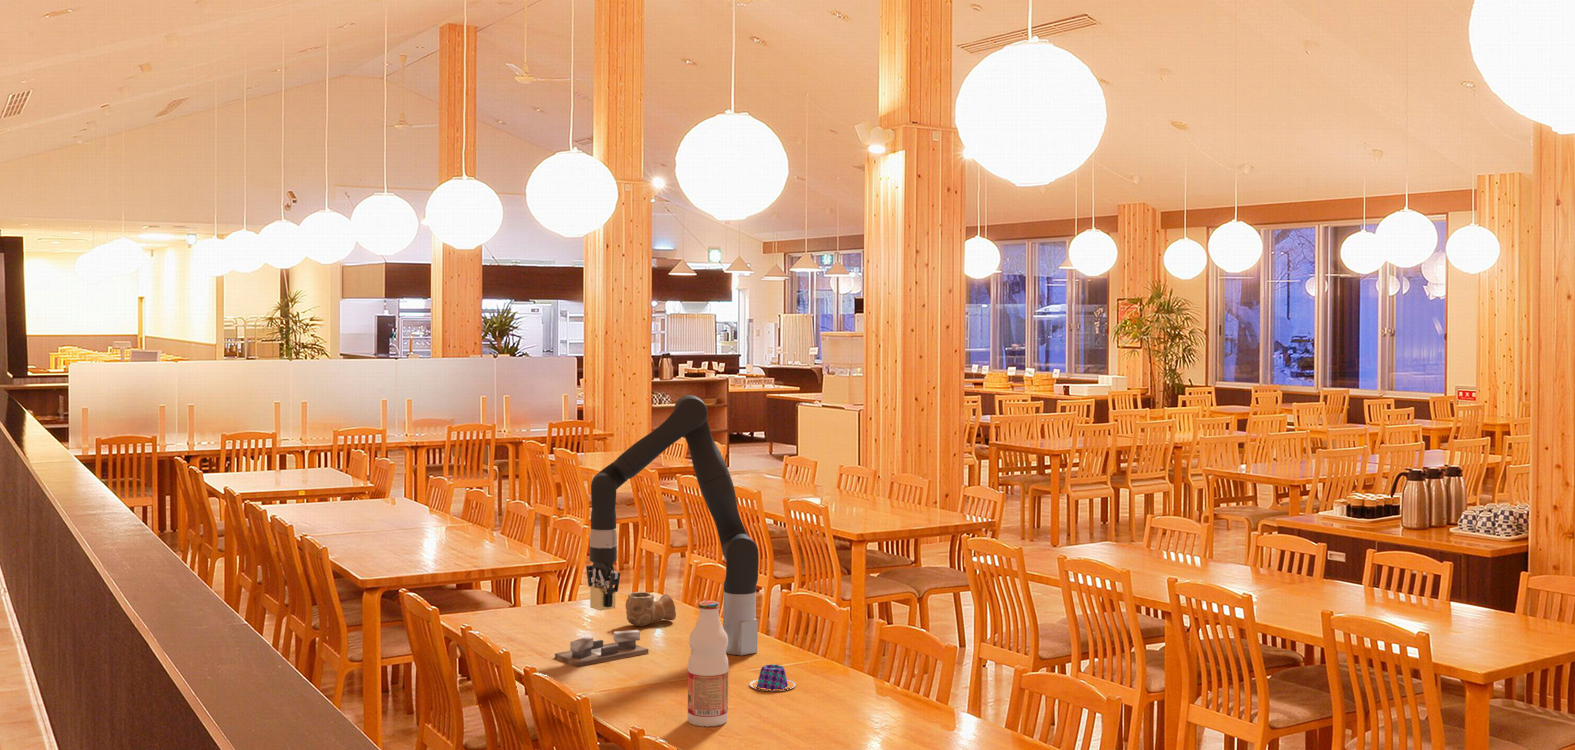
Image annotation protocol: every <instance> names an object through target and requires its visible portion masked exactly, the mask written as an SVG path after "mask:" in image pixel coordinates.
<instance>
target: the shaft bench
mask: <svg viewBox="0 0 1575 750" xmlns="http://www.w3.org/2000/svg"><path fill="white" fill-rule="evenodd" d="M613 641H614V642H610V643H604V640H602V639H599V640H594V637H590V636H584V637H581V638H577V639H575V640H572V641H570V643H569V645H570V646H569V649H570V650H567V651H561V652H557V653H554V658H555V659H557V660H559V661H562V662H565V663H568V664H570V665H572V666H575V667H577V668H579V667H585V666H590V665H596V664H601V663H605V662H606V663H607V662H610V661H616V660H621V659H622V660H623V659H625V658H630V657H631V658H632V657H637V656H641V655H646V654H647V655H648V654H649V648H647V647H645V646H640V645H637V644H636V643H637V642H636V641H641V631H640V630H639V629H634V630H633V629H632V630H619V631H613Z"/></svg>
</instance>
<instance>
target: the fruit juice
mask: <svg viewBox="0 0 1575 750" xmlns="http://www.w3.org/2000/svg"><path fill="white" fill-rule="evenodd" d="M720 606H721V605H720V602H719V601H716V600H703V601H699V602H698V611H699V614H698V618H697V621H696V624H695V627H694V628H693V630H691V632H690V634H689V638H688V639H689V641H688V644H689V648H690V655H689V658H688V662H687V663H688V665H687V720H688V722H689V724H691V725H693V726H697V727H704V726H705V727H706V728H707V727H709V728H710V726H711V727H717V726H721V725H725V723H727V721H728V717H729V716H728V715H729V713H728V712H729V658H728V656H727V653H726V649H727V646H728V636H727V633H726V632H725V630H724V629H723V623H722V622H721V619H720V614H719V610H720ZM705 727H704V728H705Z"/></svg>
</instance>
